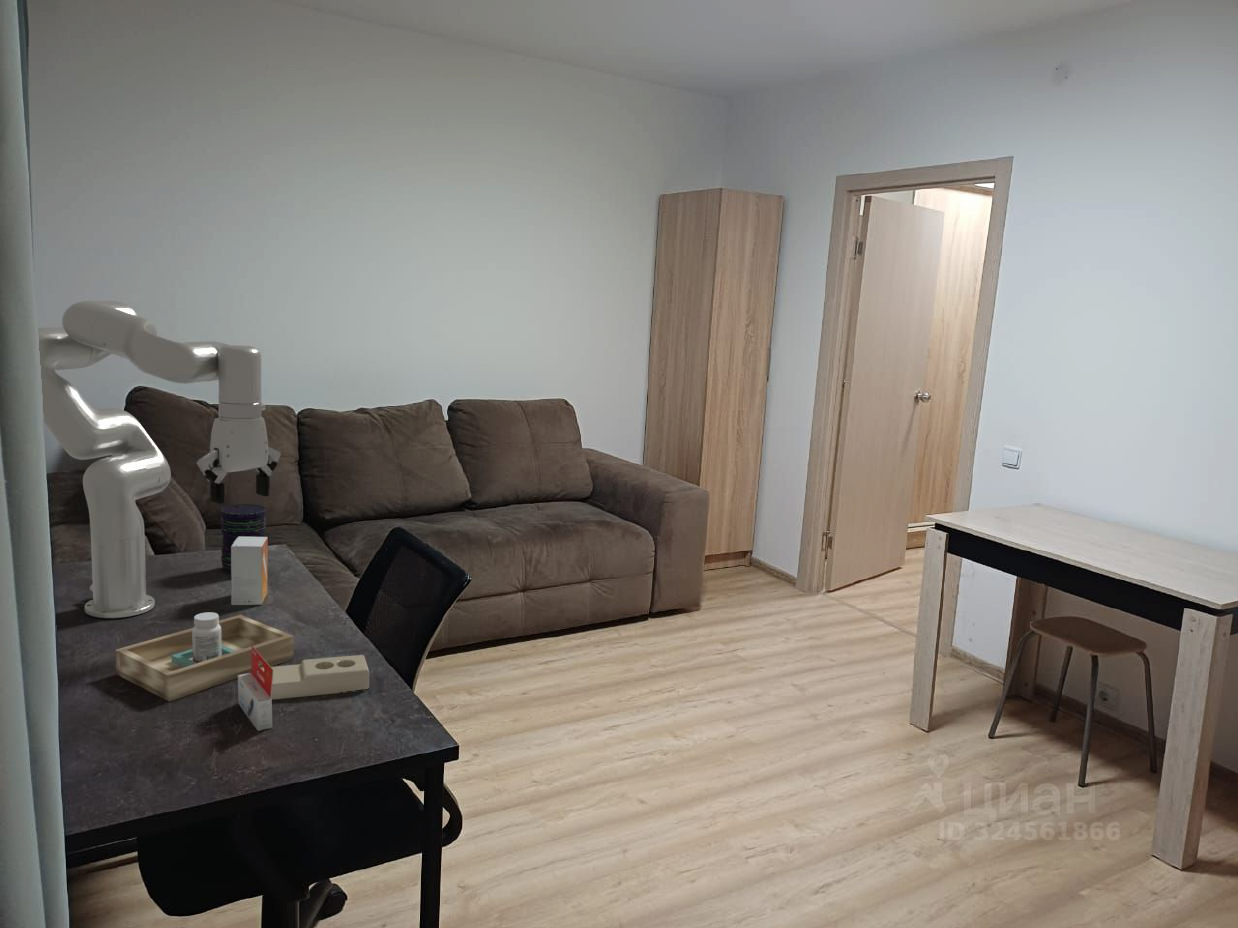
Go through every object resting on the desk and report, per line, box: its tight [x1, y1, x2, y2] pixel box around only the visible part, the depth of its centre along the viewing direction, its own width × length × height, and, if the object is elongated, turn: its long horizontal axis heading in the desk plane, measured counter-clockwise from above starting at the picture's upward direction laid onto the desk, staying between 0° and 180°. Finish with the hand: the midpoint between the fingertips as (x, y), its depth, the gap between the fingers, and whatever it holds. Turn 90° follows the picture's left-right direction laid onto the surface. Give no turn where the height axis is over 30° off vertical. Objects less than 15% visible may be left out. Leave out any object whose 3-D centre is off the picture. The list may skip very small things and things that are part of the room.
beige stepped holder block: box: [261, 654, 370, 700], centre depth 158 cm, size 7×4×18 cm
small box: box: [230, 536, 269, 606], centre depth 197 cm, size 8×6×13 cm
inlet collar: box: [171, 645, 235, 667], centre depth 163 cm, size 8×8×1 cm
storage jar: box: [220, 503, 267, 577], centre depth 216 cm, size 10×10×15 cm
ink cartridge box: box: [237, 646, 273, 732], centre depth 146 cm, size 2×11×10 cm, turn 37°
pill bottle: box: [192, 611, 222, 663], centre depth 163 cm, size 5×5×8 cm
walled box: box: [115, 614, 295, 702], centre depth 163 cm, size 16×24×4 cm, turn 147°
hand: (240, 498), depth 178 cm, fingers open, 9 cm apart
